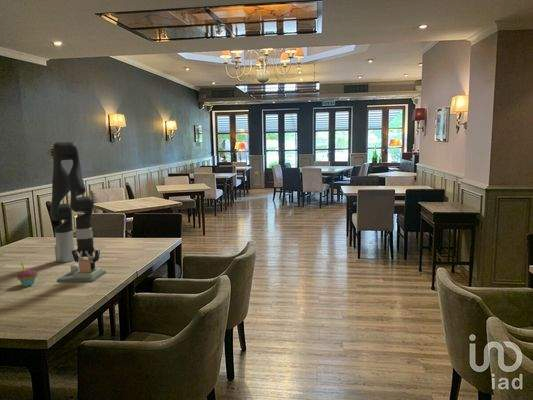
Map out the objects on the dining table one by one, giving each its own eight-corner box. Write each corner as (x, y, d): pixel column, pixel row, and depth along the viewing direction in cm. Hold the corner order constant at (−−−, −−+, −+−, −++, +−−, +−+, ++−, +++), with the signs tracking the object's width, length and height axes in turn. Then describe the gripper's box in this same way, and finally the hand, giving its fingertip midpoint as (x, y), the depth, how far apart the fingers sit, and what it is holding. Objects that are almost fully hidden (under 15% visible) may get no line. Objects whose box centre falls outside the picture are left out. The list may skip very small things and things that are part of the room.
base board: (57, 281, 195) (56, 271, 195) (72, 272, 209) (71, 263, 208) (92, 281, 194) (91, 271, 193) (106, 272, 208) (105, 263, 207)
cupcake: (23, 288, 186) (21, 263, 185) (14, 285, 191) (11, 261, 189) (42, 283, 193) (39, 259, 192) (32, 280, 198) (30, 256, 196)
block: (79, 272, 198) (78, 260, 198) (85, 269, 203) (84, 258, 203) (89, 272, 198) (88, 260, 197) (94, 269, 203) (93, 258, 202)
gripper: (66, 238, 195) (69, 272, 198) (94, 238, 194) (97, 272, 197) (75, 235, 203) (77, 267, 205) (102, 235, 202) (104, 267, 204)
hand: (87, 269), depth 201 cm, fingers closed on block, 5 cm apart
